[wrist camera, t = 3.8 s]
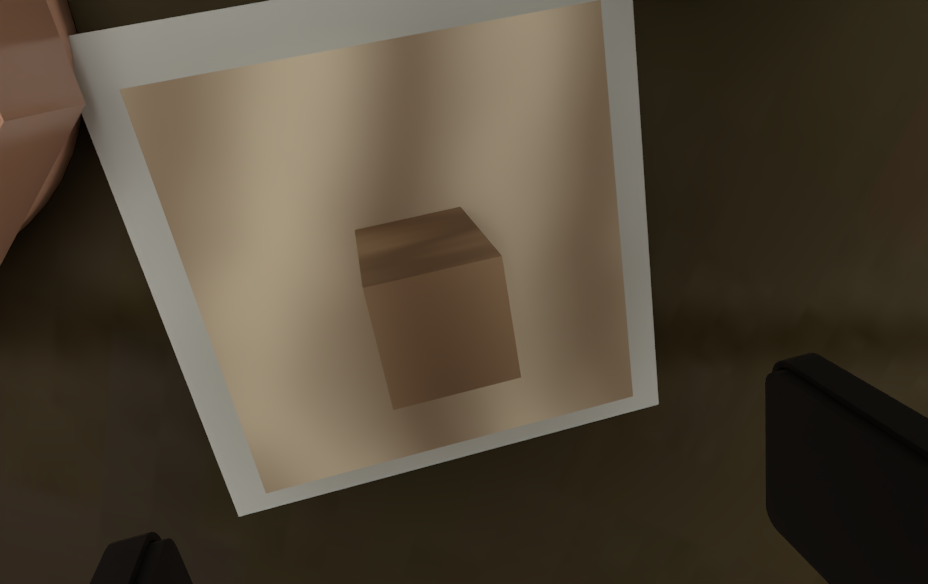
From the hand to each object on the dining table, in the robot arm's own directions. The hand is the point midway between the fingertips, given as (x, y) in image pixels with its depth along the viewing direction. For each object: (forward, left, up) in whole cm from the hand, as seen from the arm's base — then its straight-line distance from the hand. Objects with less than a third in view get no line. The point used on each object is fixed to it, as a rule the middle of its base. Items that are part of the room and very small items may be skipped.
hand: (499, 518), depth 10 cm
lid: (0, -1, -12) cm, 12 cm away
